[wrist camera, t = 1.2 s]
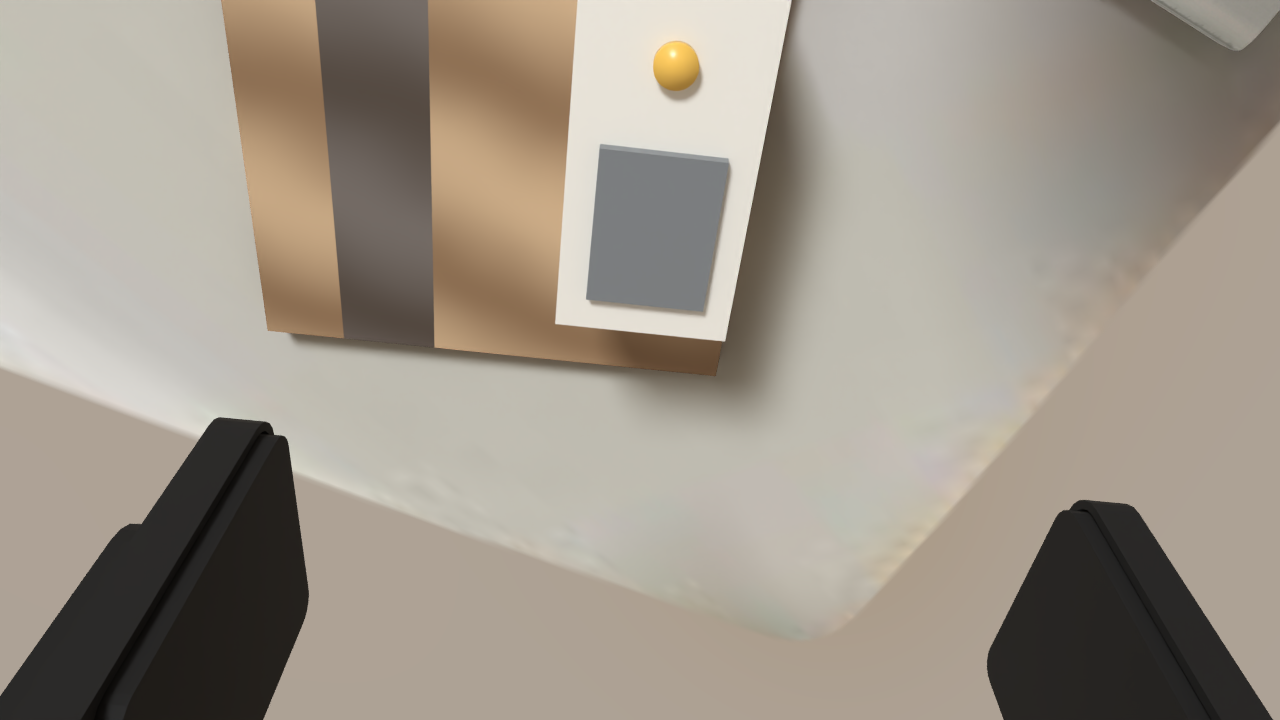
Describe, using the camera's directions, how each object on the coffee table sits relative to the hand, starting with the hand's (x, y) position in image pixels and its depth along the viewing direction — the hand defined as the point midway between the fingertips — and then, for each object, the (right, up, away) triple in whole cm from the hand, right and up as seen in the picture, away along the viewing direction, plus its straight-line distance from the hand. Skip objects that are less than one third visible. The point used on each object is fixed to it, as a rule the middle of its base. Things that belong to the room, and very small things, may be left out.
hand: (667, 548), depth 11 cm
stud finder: (0, +10, +14) cm, 17 cm away
